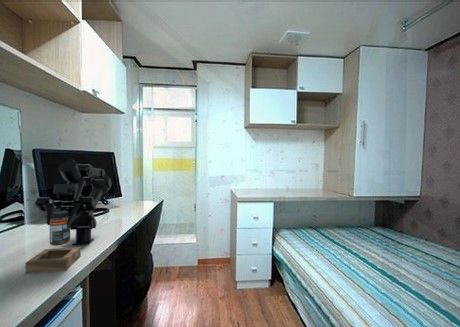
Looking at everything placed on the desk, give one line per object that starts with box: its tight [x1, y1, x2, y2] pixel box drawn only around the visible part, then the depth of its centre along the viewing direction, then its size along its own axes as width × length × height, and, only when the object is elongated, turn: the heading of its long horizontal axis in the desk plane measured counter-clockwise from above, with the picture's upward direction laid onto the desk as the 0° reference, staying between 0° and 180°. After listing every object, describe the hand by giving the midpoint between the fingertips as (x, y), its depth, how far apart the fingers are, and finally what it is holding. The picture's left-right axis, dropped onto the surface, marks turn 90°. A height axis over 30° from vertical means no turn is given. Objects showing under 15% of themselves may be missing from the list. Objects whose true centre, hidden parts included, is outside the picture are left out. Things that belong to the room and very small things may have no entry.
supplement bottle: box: [49, 210, 71, 247], centre depth 82 cm, size 6×6×11 cm
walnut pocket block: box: [24, 246, 82, 275], centre depth 79 cm, size 11×11×4 cm
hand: (58, 224), depth 81 cm, fingers closed on supplement bottle, 6 cm apart
